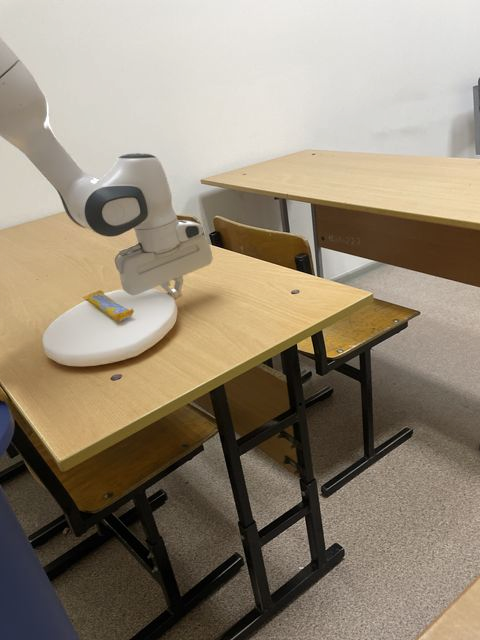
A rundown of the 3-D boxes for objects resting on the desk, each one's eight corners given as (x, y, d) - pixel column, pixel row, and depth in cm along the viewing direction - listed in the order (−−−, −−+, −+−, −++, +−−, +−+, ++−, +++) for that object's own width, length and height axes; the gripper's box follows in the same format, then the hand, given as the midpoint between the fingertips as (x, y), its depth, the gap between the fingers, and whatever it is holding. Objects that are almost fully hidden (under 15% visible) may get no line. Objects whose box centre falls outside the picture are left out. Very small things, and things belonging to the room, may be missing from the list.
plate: (146, 348, 91) (10, 355, 96) (157, 377, 94) (25, 383, 100) (187, 271, 113) (75, 281, 119) (195, 297, 117) (85, 305, 122)
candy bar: (137, 316, 100) (135, 308, 99) (117, 325, 98) (114, 316, 97) (103, 295, 112) (100, 287, 112) (84, 302, 110) (82, 294, 109)
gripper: (118, 256, 99) (139, 321, 106) (208, 223, 109) (222, 284, 116) (105, 250, 104) (126, 312, 111) (193, 219, 114) (207, 278, 120)
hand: (175, 298), depth 113 cm, fingers closed
